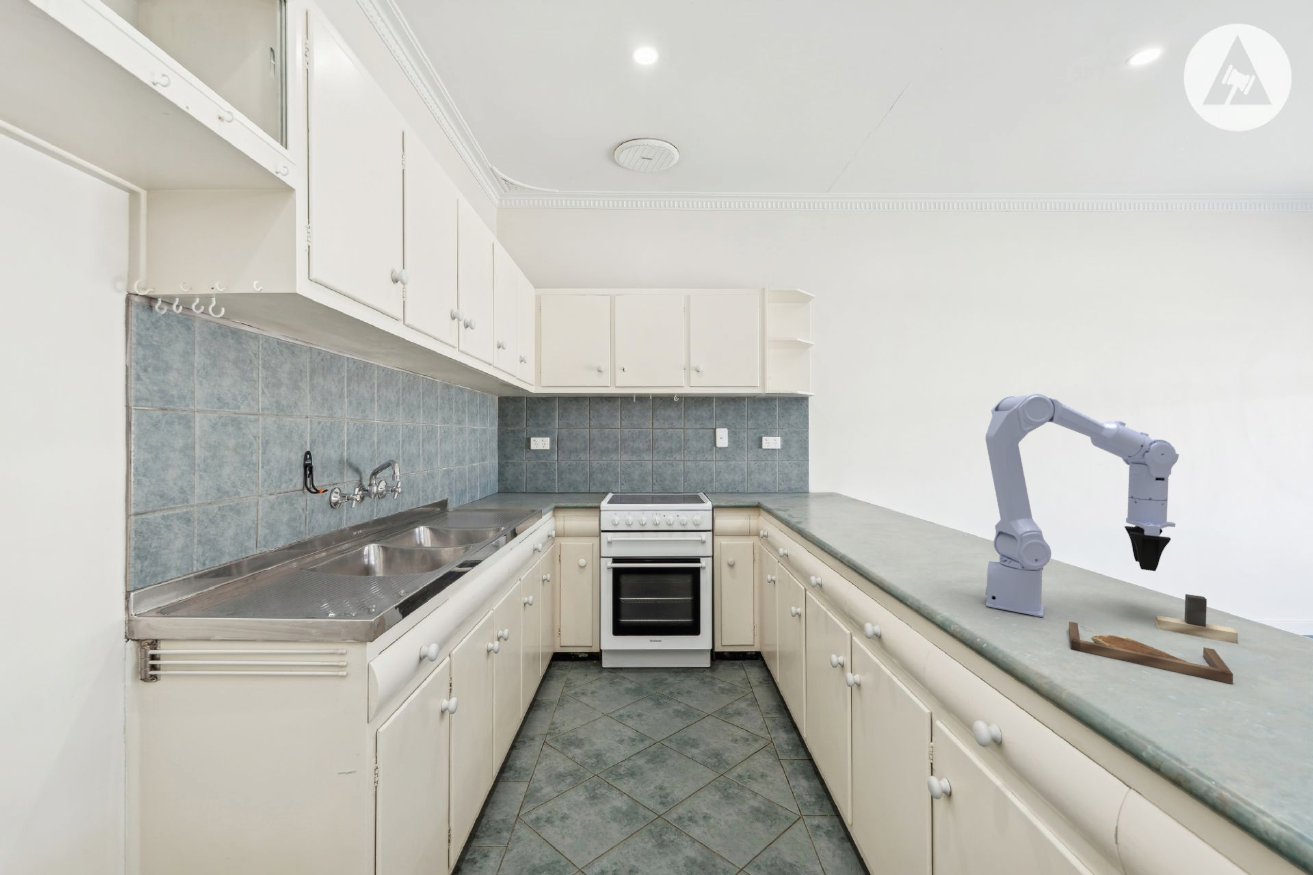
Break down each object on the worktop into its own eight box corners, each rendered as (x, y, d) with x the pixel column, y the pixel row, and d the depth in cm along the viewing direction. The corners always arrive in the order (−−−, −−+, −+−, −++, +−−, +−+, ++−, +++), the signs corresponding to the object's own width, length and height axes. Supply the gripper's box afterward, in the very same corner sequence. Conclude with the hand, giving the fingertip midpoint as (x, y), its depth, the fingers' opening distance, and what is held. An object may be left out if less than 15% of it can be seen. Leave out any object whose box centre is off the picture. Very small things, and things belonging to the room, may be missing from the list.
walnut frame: (1070, 649, 86) (1071, 640, 86) (1068, 629, 94) (1069, 621, 94) (1232, 684, 74) (1233, 674, 74) (1213, 658, 83) (1214, 649, 83)
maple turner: (1158, 630, 95) (1159, 593, 95) (1155, 625, 97) (1156, 589, 97) (1237, 644, 89) (1239, 605, 89) (1232, 639, 91) (1234, 600, 91)
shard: (1196, 674, 78) (1196, 663, 78) (1153, 676, 77) (1153, 664, 77) (1124, 644, 89) (1124, 634, 89) (1085, 645, 88) (1085, 635, 88)
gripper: (1183, 504, 94) (1180, 577, 94) (1168, 497, 105) (1166, 562, 106) (1131, 501, 98) (1129, 570, 98) (1122, 493, 110) (1120, 556, 110)
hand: (1145, 565), depth 102 cm, fingers open, 7 cm apart
